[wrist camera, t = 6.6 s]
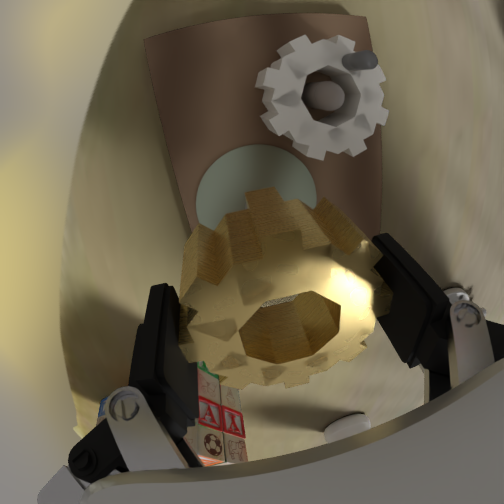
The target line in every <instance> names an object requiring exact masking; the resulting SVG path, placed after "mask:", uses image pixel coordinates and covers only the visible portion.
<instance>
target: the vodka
mask: <svg viewBox="0 0 504 504" xmlns="http://www.w3.org/2000/svg"><path fill="white" fill-rule="evenodd" d="M369 429H371V428H370V421H369V418H368V417H367V416H366V415H364V414H353V415H349V416H346V417H343V418H341V419H339V420H336V421H335V422H333V423H331V424H330V425H329V426H328V427H327V428H326V429H325V431H324V437H325V440H326V441H327V443H331V442H335V441H338V440H341V439H344V438H347V437H350V436H352V435H355V434H358V433H361V432H363V431H366V430H369Z"/></svg>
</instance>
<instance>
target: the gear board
mask: <svg viewBox="0 0 504 504" xmlns="http://www.w3.org/2000/svg"><path fill="white" fill-rule="evenodd" d="M305 34H306V36H307V37H308V39H309V41H310V42H311V44H313V43H315V42H317V41H320V40H322V39H325V40H327V39H329V38H332V37H334V36H337V35H341V36H343V37H345V38H348V39H350V40H352V41H355V46H354V50H353V51H355V52H359V51H364V50H370V51H372V52H373V50H372V44H371V39H370V33H369V28H368V24H367V19H366V17H363V16H354V15H342V14H325V13H285V14H268V15H256V16H247V17H239V18H231V19H225V20H219V21H213V22H208V23H203V24H198V25H193V26H189V27H185V28H181V29H177V30H173V31H169V32H166V33H162V34H159V35H155V36H152V37H149V38H146V39H144V45H145V50H146V55H147V60H148V65H149V70H150V75H151V79H152V84H153V88H154V93H155V97H156V102H157V106H158V110H159V115H160V119H161V123H162V127H163V131H164V135H165V139H166V143H167V147H168V151H169V154H170V158H171V162H172V166H173V169H174V173H175V177H176V180H177V184H178V187H179V191H180V194H181V198H182V201H183V205H184V208H185V212H186V215H187V218H188V222H189V225H190V228H191V232H192V233H193V231H194V229H195V228H196V226H197V225H198V223H200V224H202V225H204V226H206V227H208V228H210V229H212V230H215V228H216V227H217V226H218V224H219V223H220V221H221V220H222V218H223V217H224V215H225V214H227V213H231V212H236V211H240V210H245V209H247V204H246V198H245V193H244V192H249V191H254V190H259V189H264V188H269V187H275V188H276V190H277V191H278V193H279V194H280V196H281V197H282V199H283V200H284V201H288V200H293V199H299V200H301V201H302V202H303V203H305V204H306V205H308V206H309V207H311V208H312V209H314V208H315V207H316V205H317V204H318V203H319V202H320V201H321V199H322V198H323V197H325V198H327V199H328V200H329V201H330V202H332V203H333V204H334V205H336V206H337V207H338V208H339V209H341V210H342V211H343V212H344V213H345V214H346V215H347V216H348V217H349V218H350V219H351V220H352V221H353V222H354V223H355V224H356V225H357V227H358V228H359V229H360V230H361V231H362V232H363V233H364V234H365V235H366V236H367V237H368V238H369V239H370V241H371V240H372V238H373V236H375V235H380V224H381V204H382V142H381V125H380V124H376V127H375V130H374V133H373V135H371V136H369V137H367V138H366V139H364V140H363V141H364V143H365V145H366V147H367V149H366V150H364V151H363V152H361V153H359V154H357V155H356V156H354V157H353V156H351V155H349V154H347V153H345V152H341V153H339V154H337V153H333V152H330V151H326V153H325V157H324V160H323V161H322V160H319V159H315V158H311V157H307V156H305V155H304V154H302V153H301V152H300V151H298V150H297V149H295V148H294V147H292V144H293V140H291V139H290V138H288V137H286V136H285V135H283V134H282V135H280V136H278V135H276V134H275V133H273V132H272V131H270V130H269V129H268V128H267V126H266V125H265V123H264V122H263V120H262V119H261V117H260V116H261V115H263V114H264V113H266V112H268V110H267V108H266V107H265V105H264V104H263V102H262V98H263V94H264V89H259V88H255V84H256V80H257V76H258V73H259V72H260V71H262V70H264V69H265V68H267V67H268V68H270V67H271V64H272V63H273V62H275V61H277V60H279V59H280V58H281V56H280V55H279V54H278V52H277V50H278V49H279V48H281V47H282V46H284V45H285V44H287V43H288V42H290V41H292V40H294V39H296V38H299V37H301V36H303V35H305ZM344 99H345V95H344V91H343V89H342V88H341V87H340V86H339V85H338V84H336V83H334V82H332V80H331V78H330V76H328V75H325V74H322V73H320V72H317V71H314V72H312V73H310V74H308V75H307V77H306V81H305V85H304V88H303V92H302V96H301V100H302V101H303V103H304V105H305V106H306V108H307V110H308V112H309V113H310V115H311V117H312V119H313V120H315V121H319V120H321V119H322V118H324V117H326V116H328V115H330V114H332V113H334V111H335V110H336V109H338V108H340V107H341V106H342V104H343V103H344Z"/></svg>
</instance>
